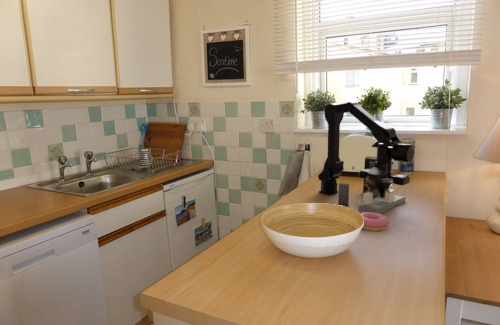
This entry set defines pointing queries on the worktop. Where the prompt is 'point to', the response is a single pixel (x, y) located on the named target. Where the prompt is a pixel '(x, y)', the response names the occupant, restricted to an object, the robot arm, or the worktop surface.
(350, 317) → the worktop surface
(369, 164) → the coffee box
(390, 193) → the block
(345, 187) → the dark grey tall block
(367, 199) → the paddle left
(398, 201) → the breaker panel
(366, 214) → the doughnut
